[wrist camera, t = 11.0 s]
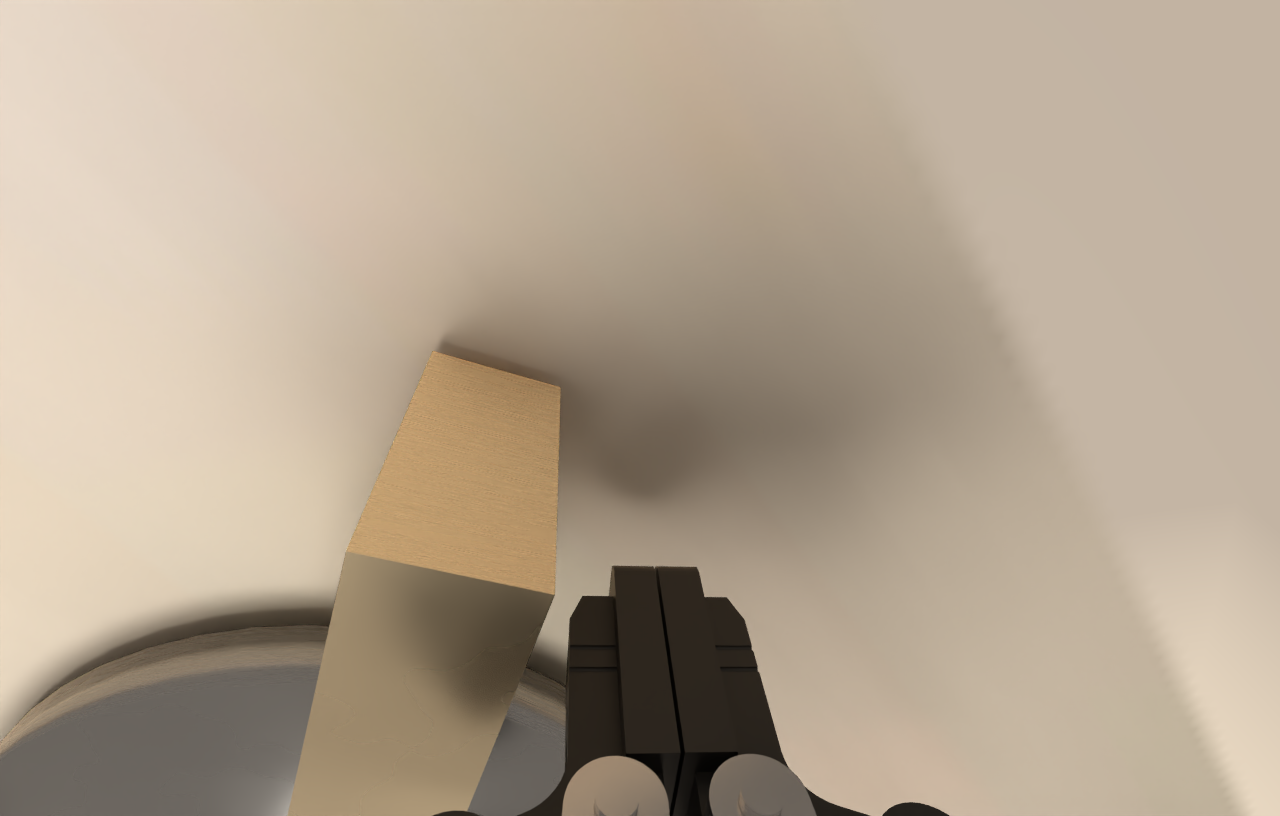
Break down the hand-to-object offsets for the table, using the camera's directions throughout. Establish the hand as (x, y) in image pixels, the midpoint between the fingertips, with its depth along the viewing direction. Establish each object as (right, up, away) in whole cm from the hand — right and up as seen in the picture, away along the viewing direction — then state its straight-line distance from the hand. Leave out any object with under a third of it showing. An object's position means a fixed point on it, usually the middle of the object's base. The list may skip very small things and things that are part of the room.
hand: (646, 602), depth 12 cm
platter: (-7, -6, +6) cm, 11 cm away
